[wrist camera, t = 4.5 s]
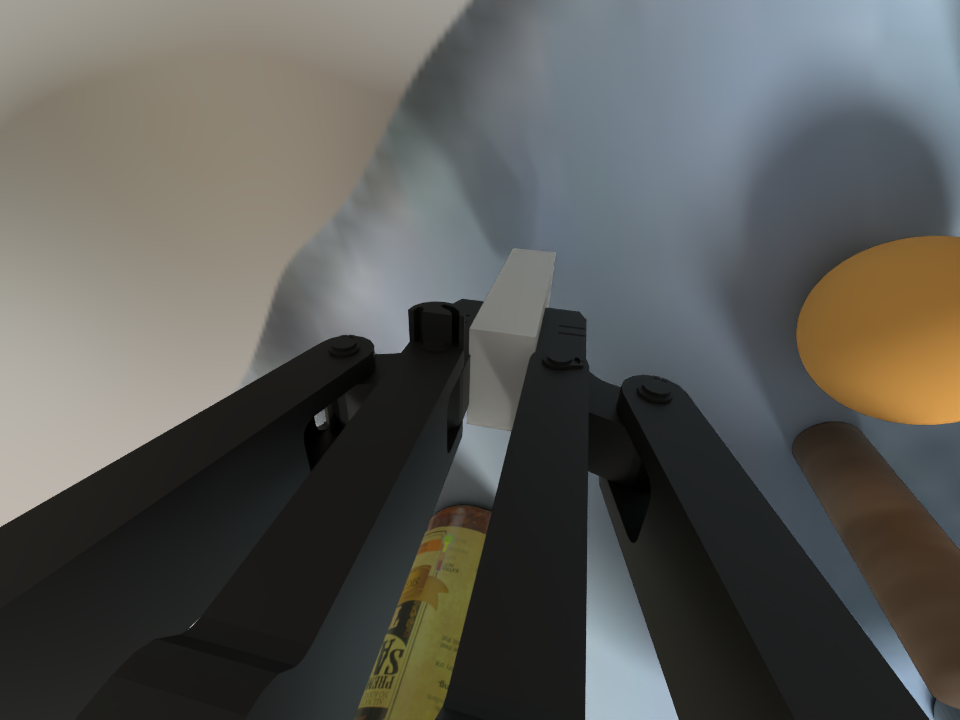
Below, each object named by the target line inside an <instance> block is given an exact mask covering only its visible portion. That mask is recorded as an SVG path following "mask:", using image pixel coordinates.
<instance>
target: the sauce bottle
mask: <svg viewBox="0 0 960 720" xmlns="http://www.w3.org/2000/svg"><path fill="white" fill-rule="evenodd" d="M491 513H492V512H491V511H488V510H484V509H482V508H479V507H475V506H470V505H460V506H457V505H456V506H452V507H447V508H445V509H443V510H441V511H439V512H438V513H436V514H435V515H434V516H433V517H432V518H431V519H430V521H429V524H428V527H427V529H426V532H425V534H424V537H423V540H422V542H421V545H420V547H419V550H418V553H417V555H416V558H415V561H414V563H413V566H412V568H411V571H410V574H409V576H408V579H407V581H406V584H405V587H404V589H403V592H402V594H401V597H400V600H399V602H398V605H397V607H396V610H395V613H394V615H393V618H392V621H391V623H390V626H389V628H388V631H387V634H386V636H385V639H384V641H383V644H382V647H381V649H380V652H379V654H378V657H377V660H376V662H375V665H374V667H373V670H372V673H371V675H370V678H369V680H368V683H367V686H366V688H365V691H364V694H363V696H362V699H361V701H360V704H359V707H358V709H357V712H356V714H355V717H354V720H435V718H436V717H437V715H438V713H439V712H440V710H441V708H442V706H443V703H444V700H445V698H446V694H447V690H448V687H449V683H450V679H451V675H452V671H453V667H454V663H455V659H456V654H457V650H458V646H459V642H460V638H461V634H462V630H463V626H464V622H465V618H466V614H467V610H468V606H469V602H470V598H471V594H472V590H473V586H474V582H475V577H476V573H477V569H478V565H479V561H480V557H481V553H482V549H483V545H484V541H485V537H486V533H487V529H488V525H489V521H490V517H491Z"/></svg>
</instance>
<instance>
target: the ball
mask: <svg viewBox="0 0 960 720" xmlns="http://www.w3.org/2000/svg"><path fill="white" fill-rule="evenodd" d="M796 339H797V346H798V351H799V355H800V358H801V360H802V363H803V365H804V367H805V369H806V370H807V372H808V374H809V375H810V376H811V378H812V379H813V380H814V381H815V383H816V384H817V385H818V386H819V387H820V388H821V389H822V390H823V391H824V392H826V393H827V394H828V395H829V396H830V397H832V398H833V399H835V400H836V401H838V402H839V403H841V404H843V405H844V406H846V407H848V408H850V409H852V410H855V411H857V412H859V413H862V414H864V415H867V416H870V417H874V418H877V419H881V420H885V421H889V422H896V423H903V424H915V425H936V424H946V423H953V422H960V237H952V236H919V237H912V238H904V239H900V240H895V241H891V242H887V243H883V244H880V245H877V246H874V247H872V248H869V249H867V250H864V251H862V252H860V253H858V254H856V255H854V256H852V257H850V258H848V259H846V260H845V261H843V262H842V263H840V264H839V265H837V266H836V267H835V268H833V269H832V270H831V271H829V272H828V273H827V274H826V275H825V276H824V277H823V278H822V279H821V280H820V281H819V282H818V283H817V284H816V286H815V287H814V288H813V289H812V291H811V292H810V294H809V295H808V297H807V299H806V300H805V302H804V304H803V306H802V309H801V311H800V314H799V318H798V322H797V330H796Z"/></svg>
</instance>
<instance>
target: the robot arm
mask: <svg viewBox="0 0 960 720" xmlns="http://www.w3.org/2000/svg"><path fill="white" fill-rule="evenodd" d="M555 256H556V252H549V251H539V250H529V249H519V248H513V249H512V251H511V253H510V255H509V257H508V258H507V260H506V262H505V264H504V266H503V268H502V270H501V271H500V273H499V275H498V277H497V279H496V281H495V282H494V284H493V286H492V288H491V290H490V292H489V293H488V295H487V297H486V299H485V301H476V300H467V299H461V300H459V301H457V302H455V303H453V304H451V303H446V302H426V303H421V304H418V305H415V306H413V307H411V308H410V309H408V316H409V335H410V342H409V343H408V345H407V346H406V347H405V349H404V350H403V351H402V353H396V354H375V351H374V345H373V343H372V342H371V341H370V340H368V339H366V338H364V337H359V336H355V335H348V336H347V335H342V336H339V337H335V338H331V339H328V340H326V341H324V342H322V343H320V344H318V345H316V346H315V347H313V348H311V349H309V350H308V351H306V352H304V353H302V354H301V355H299V356H297V357H295V358H294V359H292V360H290V361H289V362H287V363H285V364H283V365H282V366H280V367H278V368H276V369H275V370H273V371H271V372H269V373H268V374H266V375H264V376H262V377H261V378H259V379H257V380H255V381H254V382H252V383H250V384H249V385H247V386H245V387H243V388H242V389H240V390H238V391H236V392H235V393H233V394H231V395H229V396H228V397H226V398H224V399H222V400H221V401H219V402H217V403H216V404H214V405H212V406H210V407H209V408H207V409H205V410H203V411H202V412H200V413H198V414H196V415H195V416H193V417H191V418H189V419H188V420H186V421H184V422H183V423H181V424H179V425H177V426H175V427H174V428H172V429H170V430H169V431H167V432H165V433H163V434H162V435H160V436H158V437H156V438H155V439H153V440H151V441H149V442H148V443H146V444H144V445H143V446H141V447H139V448H137V449H135V450H134V451H132V452H130V453H128V454H127V455H125V456H123V457H122V458H120V459H118V460H116V461H115V462H113V463H111V464H109V465H108V466H106V467H104V468H102V469H101V470H99V471H97V472H95V473H94V474H92V475H90V476H88V477H87V478H85V479H83V480H82V481H80V482H78V483H76V484H75V485H73V486H71V487H69V488H68V489H66V490H64V491H62V492H61V493H59V494H57V495H55V496H54V497H52V498H50V499H49V500H47V501H45V502H43V503H42V504H40V505H38V506H36V507H35V508H33V509H31V510H29V511H28V512H26V513H24V514H22V515H21V516H19V517H17V518H15V519H14V520H12V521H10V522H8V523H7V524H5V525H3V526H1V527H0V720H354V717H355V714H356V712H357V709H358V707H359V704H360V701H361V699H362V696H363V694H364V691H365V688H366V686H367V683H368V680H369V678H370V675H371V673H372V670H373V667H374V665H375V662H376V660H377V657H378V654H379V652H380V649H381V647H382V644H383V641H384V639H385V636H386V634H387V631H388V628H389V626H390V623H391V621H392V618H393V615H394V613H395V610H396V607H397V605H398V602H399V600H400V597H401V594H402V592H403V589H404V587H405V584H406V581H407V579H408V576H409V574H410V571H411V568H412V566H413V563H414V561H415V558H416V555H417V553H418V550H419V547H420V545H421V542H422V540H423V537H424V534H425V532H426V529H427V527H428V524H429V521H430V519H431V516H432V514H433V511H434V508H435V506H436V503H437V501H438V498H439V495H440V493H441V490H442V488H443V485H444V482H445V480H446V477H447V474H448V472H449V469H450V467H451V464H452V461H453V459H454V456H455V454H456V451H457V448H458V446H459V443H460V441H461V438H462V431H463V418H464V415H465V413H466V410H467V424H472V425H478V426H484V427H490V428H496V429H501V430H507V431H512V432H511V436H510V440H509V444H508V448H507V452H506V456H505V460H504V464H503V468H502V472H501V476H500V480H499V484H498V488H497V492H496V496H495V500H494V505H493V509H492V513H491V517H490V521H489V525H488V529H487V533H486V537H485V541H484V545H483V549H482V553H481V557H480V561H479V565H478V569H477V573H476V577H475V582H474V586H473V590H472V594H471V598H470V602H469V606H468V610H467V614H466V618H465V622H464V626H463V630H462V634H461V638H460V642H459V646H458V650H457V654H456V659H455V663H454V667H453V671H452V675H451V679H450V683H449V687H448V690H447V694H446V698H445V700H444V703H443V706H442V708H441V710H440V712H439V713H438V715H437V717H436V718H435V720H585V683H586V593H587V504H588V471H589V472H591V473H594V474H596V475H598V476H599V485H600V488H601V491H602V494H603V497H604V500H605V503H606V506H607V509H608V512H609V515H610V518H611V521H612V524H613V527H614V529H615V532H616V535H617V538H618V541H619V544H620V547H621V550H622V553H623V556H624V559H625V562H626V565H627V568H628V571H629V574H630V577H631V580H632V583H633V586H634V589H635V592H636V594H637V597H638V600H639V603H640V606H641V609H642V612H643V615H644V618H645V621H646V624H647V627H648V630H649V633H650V636H651V639H652V642H653V645H654V648H655V651H656V654H657V656H658V659H659V662H660V665H661V668H662V671H663V674H664V677H665V680H666V683H667V686H668V689H669V692H670V695H671V698H672V701H673V704H674V707H675V710H676V713H677V716H678V718H679V720H929V718H928V717H927V716H926V714H925V713H924V711H923V710H922V709H921V707H920V706H919V705H918V703H917V702H916V701H915V699H914V698H913V697H912V695H911V694H910V693H909V691H908V690H907V689H906V687H905V686H904V685H903V683H902V682H901V681H900V679H899V678H898V677H897V675H896V674H895V672H894V671H893V670H892V668H891V667H890V666H889V664H888V663H887V662H886V660H885V659H884V658H883V656H882V655H881V654H880V652H879V651H878V650H877V648H876V647H875V646H874V644H873V643H872V642H871V640H870V639H869V638H868V636H867V635H866V633H865V632H864V631H863V629H862V628H861V627H860V625H859V624H858V623H857V621H856V620H855V619H854V617H853V616H852V615H851V613H850V612H849V611H848V609H847V608H846V607H845V605H844V604H843V603H842V601H841V600H840V598H839V597H838V596H837V594H836V593H835V592H834V590H833V589H832V588H831V586H830V585H829V584H828V582H827V581H826V580H825V578H824V577H823V576H822V574H821V573H820V572H819V570H818V569H817V568H816V566H815V565H814V564H813V562H812V561H811V559H810V558H809V557H808V555H807V554H806V553H805V551H804V550H803V549H802V547H801V546H800V545H799V543H798V542H797V541H796V539H795V538H794V537H793V535H792V534H791V533H790V531H789V530H788V529H787V527H786V526H785V525H784V523H783V522H782V520H781V519H780V518H779V516H778V515H777V514H776V512H775V511H774V510H773V508H772V507H771V506H770V504H769V503H768V502H767V500H766V499H765V498H764V496H763V495H762V494H761V492H760V491H759V490H758V488H757V487H756V485H755V484H754V483H753V481H752V480H751V479H750V477H749V476H748V475H747V473H746V472H745V471H744V469H743V468H742V467H741V465H740V464H739V463H738V461H737V460H736V459H735V457H734V456H733V455H732V453H731V452H730V451H729V449H728V448H727V446H726V445H725V444H724V442H723V441H722V440H721V438H720V437H719V436H718V434H717V433H716V432H715V430H714V429H713V428H712V426H711V425H710V424H709V422H708V421H707V420H706V418H705V417H704V416H703V414H702V413H701V412H700V410H699V409H698V407H697V406H696V405H695V403H694V402H693V401H692V399H691V398H690V397H689V395H688V394H687V393H686V392H685V391H684V390H683V389H682V388H681V387H680V386H678V385H676V384H674V383H672V382H671V381H669V380H667V379H664V378H660V377H657V376H647V375H639V376H632V377H630V378H628V379H625V381H624V382H623V384H622V385H621V387H618V386H615V385H612V384H609V383H607V382H604V381H602V380H600V379H599V378H597V377H595V376H594V375H593V374H592V373H591V372H590V371H589V365H588V362H587V360H586V319H585V318H584V317H583V315H582V314H581V313H580V312H578V311H569V310H561V309H553V308H549V303H550V295H551V287H552V279H553V271H554V264H555ZM323 409H324V410H325V415H326V422H325V423H324V424H322V425H321V426H319V427H317V426H316V424H315V419H314V416H315V415H316V414H318V413H319V412H321V411H322V410H323ZM197 620H198V621H197ZM196 621H197V622H196ZM195 622H196V623H195ZM194 623H195V624H194ZM193 624H194V625H193ZM192 625H193V626H192ZM191 626H192V627H191ZM190 627H191V628H190ZM934 718H935V720H960V709H958V708H954V707H951V706H949V705H947V704H944V703H942V702H941V701H939V700H937V699H936V702H935V705H934Z"/></svg>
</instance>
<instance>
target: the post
mask: <svg viewBox="0 0 960 720" xmlns="http://www.w3.org/2000/svg"><path fill="white" fill-rule="evenodd" d="M792 453H793V456H794V458H795V460H796V461H797V463H798V465H799V467H800V468H801V470H802V472H803V473H804V475H805V477H806V479H807V480H808V482H809V484H810V486H811V487H812V489H813V491H814V492H815V494H816V496H817V498H818V499H819V501H820V503H821V505H822V506H823V508H824V510H825V511H826V513H827V515H828V517H829V518H830V520H831V522H832V524H833V525H834V527H835V529H836V530H837V532H838V534H839V536H840V537H841V539H842V541H843V543H844V544H845V546H846V548H847V549H848V551H849V553H850V555H851V556H852V558H853V560H854V562H855V563H856V565H857V567H858V568H859V570H860V572H861V574H862V575H863V577H864V579H865V581H866V582H867V584H868V586H869V587H870V589H871V591H872V593H873V594H874V596H875V598H876V600H877V601H878V603H879V605H880V606H881V608H882V610H883V612H884V613H885V615H886V617H887V619H888V620H889V622H890V624H891V625H892V627H893V629H894V631H895V632H896V634H897V636H898V638H899V639H900V641H901V643H902V644H903V646H904V648H905V650H906V651H907V653H908V655H909V657H910V658H911V660H912V662H913V663H914V665H915V667H916V669H917V670H918V672H919V674H920V676H921V677H922V679H923V681H924V682H925V684H926V686H927V688H928V689H929V691H930V693H931V694H932V695H933V696H934V697H935V698H936V699H937V700H939V701H941V702H942V703H944V704H947V705H949V706H951V707H954V708H958V709H960V550H959V549H958V547H957V546H956V545H955V544H954V543H953V541H952V540H951V539H950V538H949V537H948V535H947V534H946V533H945V532H944V531H943V529H942V528H941V527H940V526H939V525H938V523H937V522H936V521H935V520H934V519H933V517H932V516H931V515H930V514H929V512H928V511H927V510H926V509H925V508H924V506H923V505H922V504H921V503H920V502H919V500H918V499H917V498H916V497H915V496H914V494H913V493H912V492H911V491H910V490H909V488H908V487H907V486H906V485H905V484H904V482H903V481H902V480H901V479H900V478H899V476H898V475H897V474H896V473H895V472H894V470H893V469H892V468H891V467H890V466H889V464H888V463H887V462H886V461H885V460H884V458H883V457H882V456H881V455H880V453H879V452H878V451H877V450H876V449H875V447H874V446H873V445H872V444H871V443H870V441H869V440H868V439H867V438H866V437H865V435H864V434H863V433H862V432H861V431H860V430H859V429H858V428H856V427H855V426H853V425H850V424H847V423H842V422H827V423H822V424H818V425H815V426H812V427H810V428H808V429H806V430H805V431H803V432H802V433H801V434H800V435H799V436H798V437H797V438H796V439H795V441H794V443H793V446H792Z"/></svg>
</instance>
